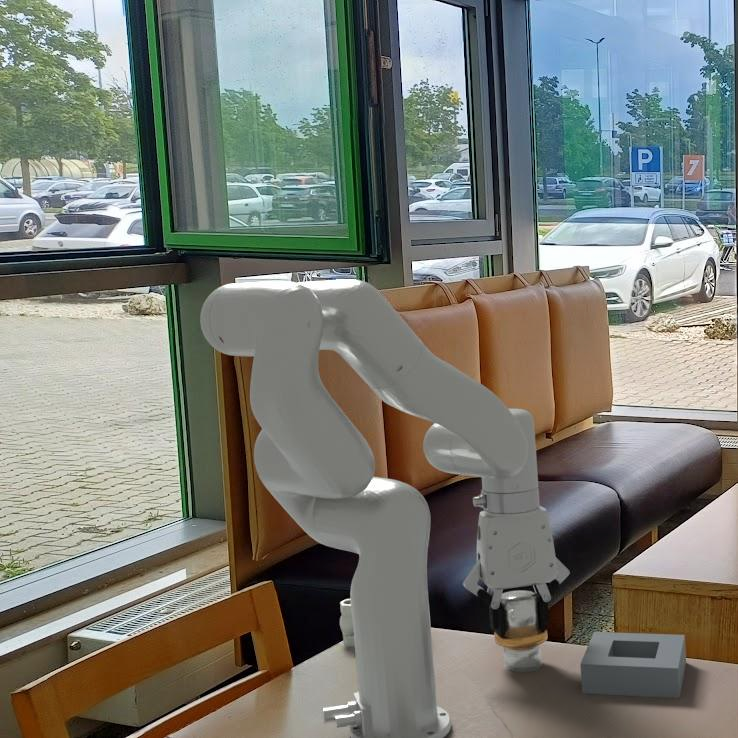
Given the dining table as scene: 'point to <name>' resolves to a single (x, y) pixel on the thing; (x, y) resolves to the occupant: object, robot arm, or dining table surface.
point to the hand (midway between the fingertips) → (520, 629)
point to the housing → (634, 664)
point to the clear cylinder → (521, 631)
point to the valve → (347, 623)
